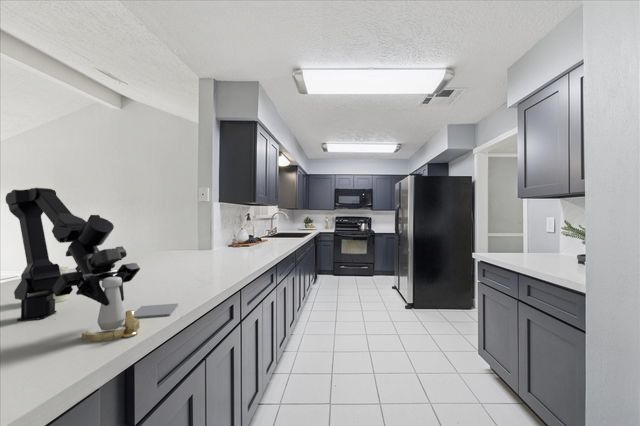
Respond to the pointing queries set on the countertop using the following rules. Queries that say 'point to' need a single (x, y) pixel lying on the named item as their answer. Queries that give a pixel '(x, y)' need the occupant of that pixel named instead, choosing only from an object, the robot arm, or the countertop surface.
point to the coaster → (155, 310)
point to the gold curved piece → (127, 332)
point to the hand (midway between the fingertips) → (115, 302)
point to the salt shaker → (111, 305)
